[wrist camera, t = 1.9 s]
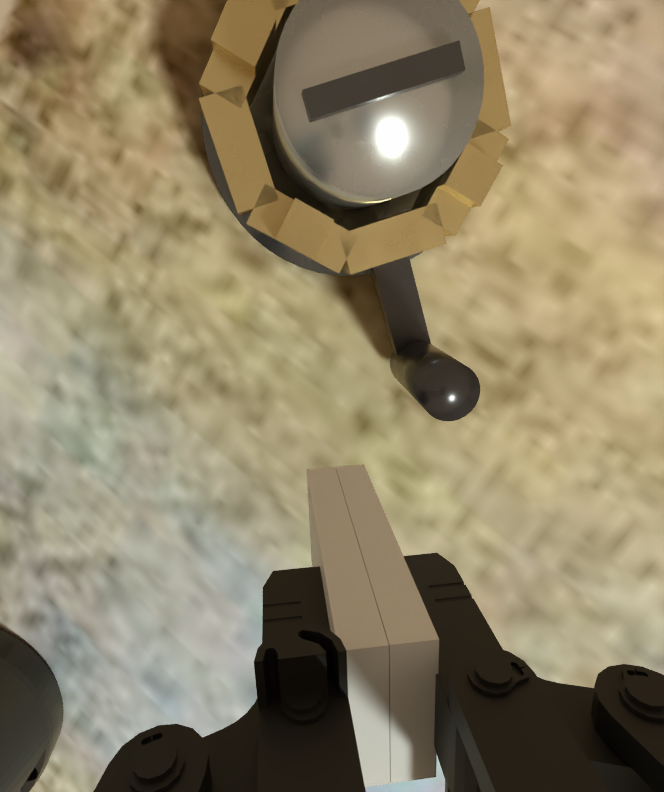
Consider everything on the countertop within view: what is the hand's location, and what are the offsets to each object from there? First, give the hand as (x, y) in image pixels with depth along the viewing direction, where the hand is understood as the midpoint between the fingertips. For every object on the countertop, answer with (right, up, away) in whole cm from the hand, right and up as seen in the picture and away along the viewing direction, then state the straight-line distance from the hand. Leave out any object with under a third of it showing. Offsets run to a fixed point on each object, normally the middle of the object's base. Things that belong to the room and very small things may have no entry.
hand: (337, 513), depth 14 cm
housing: (+1, +17, +14) cm, 22 cm away
